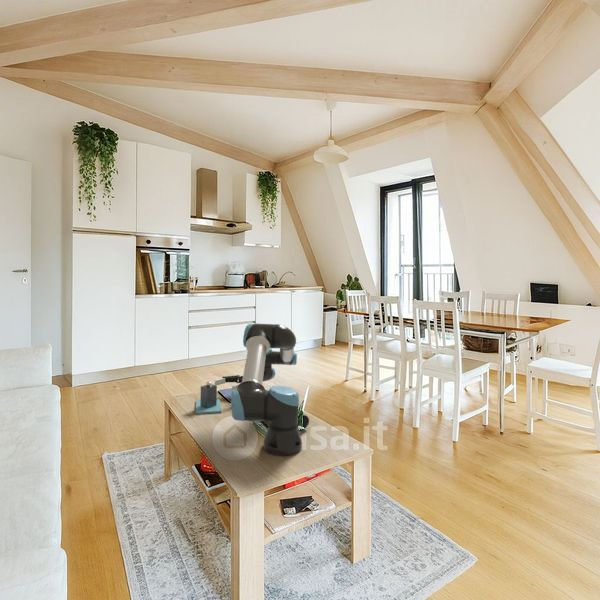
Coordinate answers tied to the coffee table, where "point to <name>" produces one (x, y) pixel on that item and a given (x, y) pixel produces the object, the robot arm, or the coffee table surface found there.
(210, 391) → the lock block
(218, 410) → the teal cloth
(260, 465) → the coffee table surface
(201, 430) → the coffee table surface
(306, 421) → the end cap
